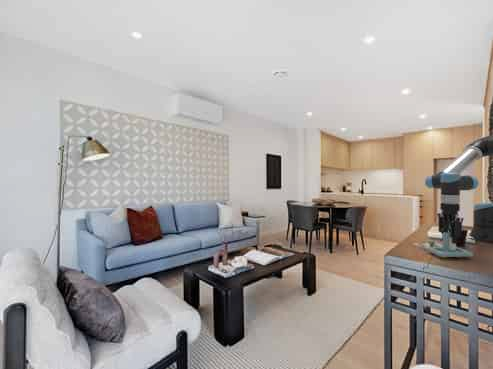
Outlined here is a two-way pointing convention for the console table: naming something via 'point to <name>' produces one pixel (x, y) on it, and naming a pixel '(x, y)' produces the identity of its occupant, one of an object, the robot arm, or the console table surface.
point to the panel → (449, 253)
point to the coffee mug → (461, 238)
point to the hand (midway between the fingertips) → (449, 248)
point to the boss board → (428, 245)
